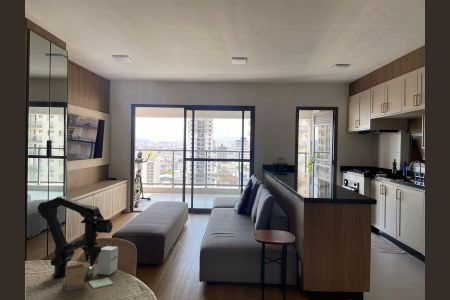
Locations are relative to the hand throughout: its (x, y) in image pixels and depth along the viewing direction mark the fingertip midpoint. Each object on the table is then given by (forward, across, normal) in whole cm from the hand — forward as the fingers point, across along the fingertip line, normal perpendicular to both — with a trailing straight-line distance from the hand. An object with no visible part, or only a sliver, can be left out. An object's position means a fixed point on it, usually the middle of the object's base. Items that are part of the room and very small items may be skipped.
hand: (89, 263), depth 149 cm
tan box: (+7, +8, -8) cm, 13 cm away
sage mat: (+7, +11, +3) cm, 13 cm away
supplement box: (+7, -3, +10) cm, 13 cm away
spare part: (+7, 0, 0) cm, 7 cm away
